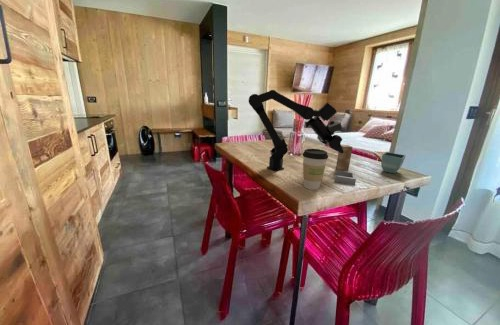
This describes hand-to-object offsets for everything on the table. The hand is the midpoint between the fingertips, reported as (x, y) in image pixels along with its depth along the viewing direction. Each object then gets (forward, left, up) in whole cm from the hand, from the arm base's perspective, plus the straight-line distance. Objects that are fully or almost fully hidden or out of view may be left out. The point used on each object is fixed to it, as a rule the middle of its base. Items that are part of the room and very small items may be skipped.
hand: (339, 150), depth 108 cm
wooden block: (+2, -2, -10) cm, 11 cm away
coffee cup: (-28, -6, -11) cm, 31 cm away
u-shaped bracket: (-9, -9, -10) cm, 16 cm away
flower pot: (+23, -17, -11) cm, 30 cm away
